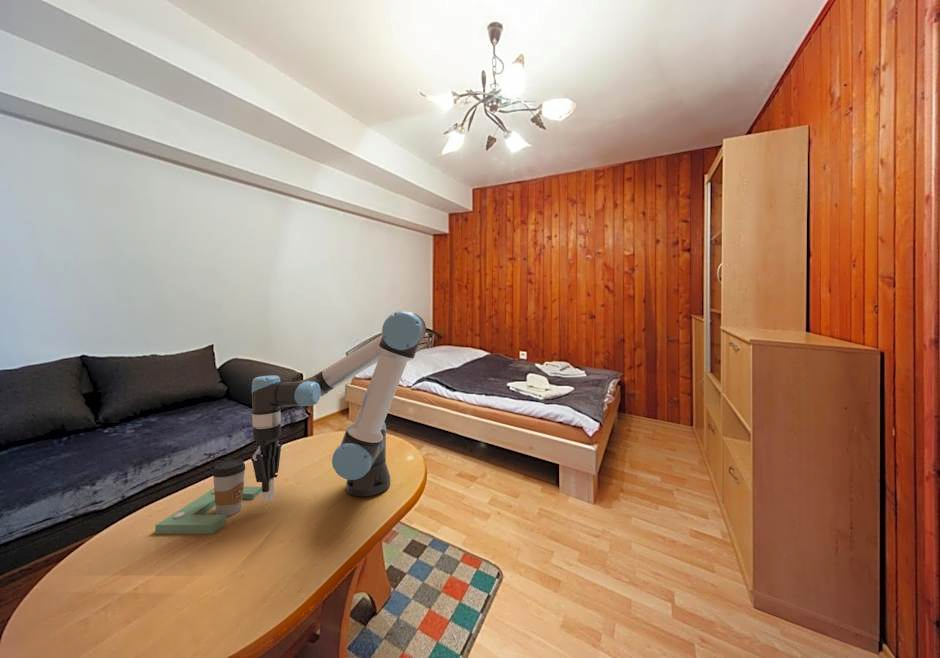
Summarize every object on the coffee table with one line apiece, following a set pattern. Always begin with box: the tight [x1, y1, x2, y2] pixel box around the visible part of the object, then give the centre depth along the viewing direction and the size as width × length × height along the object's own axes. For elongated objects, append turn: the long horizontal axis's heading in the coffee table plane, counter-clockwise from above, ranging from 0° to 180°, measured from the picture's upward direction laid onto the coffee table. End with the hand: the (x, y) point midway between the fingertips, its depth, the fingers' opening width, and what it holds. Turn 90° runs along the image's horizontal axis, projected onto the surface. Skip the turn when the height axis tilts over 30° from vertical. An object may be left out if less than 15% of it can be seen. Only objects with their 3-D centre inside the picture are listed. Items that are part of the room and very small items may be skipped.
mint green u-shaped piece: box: [155, 486, 262, 535], centre depth 101 cm, size 16×22×3 cm
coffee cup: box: [212, 458, 246, 518], centre depth 101 cm, size 8×8×15 cm
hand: (268, 500), depth 101 cm, fingers closed
